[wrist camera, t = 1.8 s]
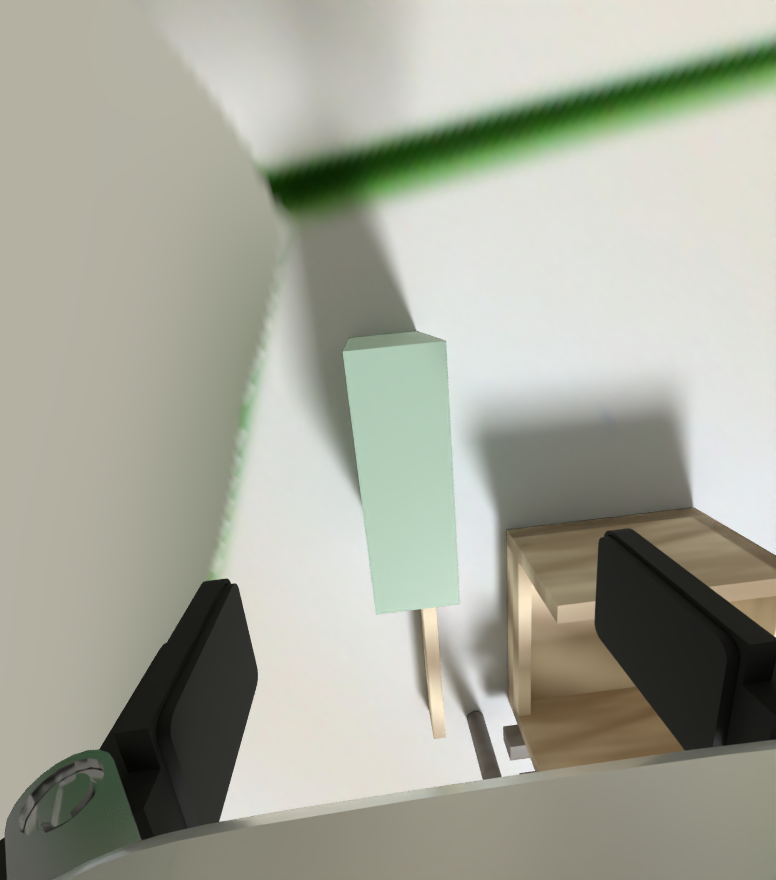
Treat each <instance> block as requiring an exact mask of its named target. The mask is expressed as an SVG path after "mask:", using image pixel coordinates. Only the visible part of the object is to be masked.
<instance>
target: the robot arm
mask: <svg viewBox="0 0 776 880" xmlns="http://www.w3.org/2000/svg"><path fill="white" fill-rule="evenodd" d="M594 624H595V630H596V633H597V635H598V637H599V638H600V640H601V641H602V642H603V644H604V645H605V646H606V648H607V649H608V650H609V652H610V653H611V654H612V656H613V657H614V658H615V660H616V661H617V662H618V663H619V665H620V666H621V667H622V669H623V670H624V671H625V673H626V674H627V675H628V677H629V678H630V679H631V681H632V682H633V683H634V684H635V686H636V687H637V688H638V690H639V691H640V692H641V694H642V695H643V696H644V698H645V699H646V700H647V702H648V703H649V704H650V705H651V707H652V708H653V709H654V711H655V712H656V713H657V715H658V716H659V717H660V719H661V720H662V721H663V723H664V724H665V725H666V726H667V728H668V729H669V730H670V732H671V733H672V734H673V736H674V737H675V738H676V740H677V741H678V742H679V744H680V745H681V746H682V747H683V749H684V750H685V751H680V752H673V753H666V754H658V755H651V756H644V757H637V758H630V759H623V760H616V761H609V762H602V763H595V764H588V765H581V766H574V767H567V768H560V769H554V770H547V771H540V772H533V773H526V774H520V775H513V776H506V777H499V778H493V779H486V780H479V781H473V782H466V783H459V784H453V785H446V786H439V787H433V788H426V789H419V790H413V791H406V792H400V793H394V794H387V795H381V796H374V797H368V798H361V799H355V800H349V801H342V802H336V803H329V804H323V805H316V806H310V807H303V808H297V809H291V810H285V811H279V812H274V813H268V814H262V815H256V816H251V817H245V818H239V819H234V820H228V821H222V822H219V820H220V816H221V813H222V809H223V806H224V802H225V798H226V795H227V791H228V787H229V784H230V780H231V777H232V773H233V769H234V766H235V762H236V759H237V755H238V751H239V748H240V744H241V741H242V737H243V733H244V730H245V726H246V722H247V719H248V715H249V712H250V708H251V704H252V701H253V697H254V694H255V690H256V686H257V680H258V670H257V665H256V661H255V656H254V652H253V648H252V643H251V639H250V635H249V631H248V626H247V622H246V618H245V613H244V609H243V605H242V600H241V596H240V592H239V588H238V585H237V584H231V582H230V581H229V579H220V580H212V581H205V582H203V583H202V584H201V586H200V588H199V589H198V591H197V593H196V595H195V596H194V598H193V599H192V601H191V603H190V605H189V606H188V608H187V610H186V611H185V613H184V615H183V617H182V618H181V620H180V621H179V623H178V625H177V626H176V628H175V630H174V631H173V633H172V635H171V637H170V638H169V640H168V642H167V643H165V644H164V645H163V646H162V647H161V648H160V650H159V651H158V653H157V655H156V656H155V658H154V660H153V661H152V663H151V665H150V666H149V668H148V669H147V671H146V673H145V675H144V676H143V678H142V679H141V681H140V683H139V685H138V686H137V688H136V689H135V691H134V693H133V694H132V696H131V698H130V699H129V701H128V703H127V704H126V706H125V708H124V709H123V711H122V713H121V714H120V716H119V718H118V719H117V721H116V723H115V724H114V726H113V728H112V729H111V731H110V733H109V734H108V736H107V738H106V739H105V741H104V743H103V744H102V746H101V748H100V749H99V750H87V751H84V752H81V753H78V754H74V755H72V756H70V757H68V758H66V759H64V760H62V761H61V762H59V763H57V764H55V765H54V766H53V767H51V768H50V769H49V770H47V771H46V772H44V773H43V774H42V775H41V776H40V777H39V778H37V779H36V780H35V781H34V782H33V783H32V784H31V785H30V786H29V787H28V788H27V789H26V790H25V792H24V793H23V794H22V795H21V797H20V798H19V799H18V801H17V802H16V803H15V805H14V807H13V809H12V811H11V812H10V814H9V816H8V818H7V822H6V828H5V837H4V838H3V839H2V840H0V880H776V637H774V636H773V635H772V634H770V633H769V632H768V631H767V630H765V629H764V628H763V627H761V626H760V625H759V624H757V623H756V622H755V621H753V620H752V619H751V618H749V617H748V616H747V615H745V614H744V613H743V612H741V611H740V610H739V609H737V608H736V607H735V606H733V605H732V604H731V603H730V602H728V601H727V600H726V599H724V598H723V597H722V596H720V595H719V594H718V593H716V592H715V591H714V590H712V589H711V588H710V587H708V586H707V585H706V584H704V583H703V582H702V581H700V580H699V579H698V578H696V577H695V576H694V575H693V574H691V573H690V572H689V571H687V570H686V569H685V568H683V567H682V566H681V565H679V564H678V563H677V562H675V561H674V560H673V559H671V558H670V557H669V556H667V555H666V554H665V553H663V552H662V551H661V550H659V549H658V548H657V547H656V546H654V545H653V544H652V543H650V542H649V541H648V540H646V539H645V538H644V537H642V536H641V535H640V534H638V533H637V532H636V531H634V530H633V529H631V528H625V529H617V530H609V531H607V532H605V534H604V537H601V538H600V539H599V542H598V560H597V580H596V600H595V620H594Z"/></svg>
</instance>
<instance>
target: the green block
mask: <svg viewBox="0 0 776 880" xmlns="http://www.w3.org/2000/svg"><path fill="white" fill-rule="evenodd" d="M343 359H344V367H345V375H346V383H347V391H348V398H349V406H350V414H351V422H352V430H353V438H354V446H355V453H356V461H357V469H358V477H359V485H360V493H361V500H362V508H363V516H364V524H365V532H366V540H367V548H368V555H369V563H370V571H371V579H372V587H373V595H374V602H375V610H376V615H378V614H386V613H394V612H402V611H410V610H418V609H426V608H434V607H442V606H450V605H458V604H460V595H459V576H458V557H457V538H456V520H455V501H454V482H453V463H452V445H451V426H450V407H449V388H448V370H447V351H446V341H445V340H442V339H439V338H436V337H433V336H430V335H427V334H424V333H421V332H418V331H410V332H401V333H391V334H381V335H372V336H362V337H352V338H348V341H347V343H346V345H345V347H344V350H343Z"/></svg>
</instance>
